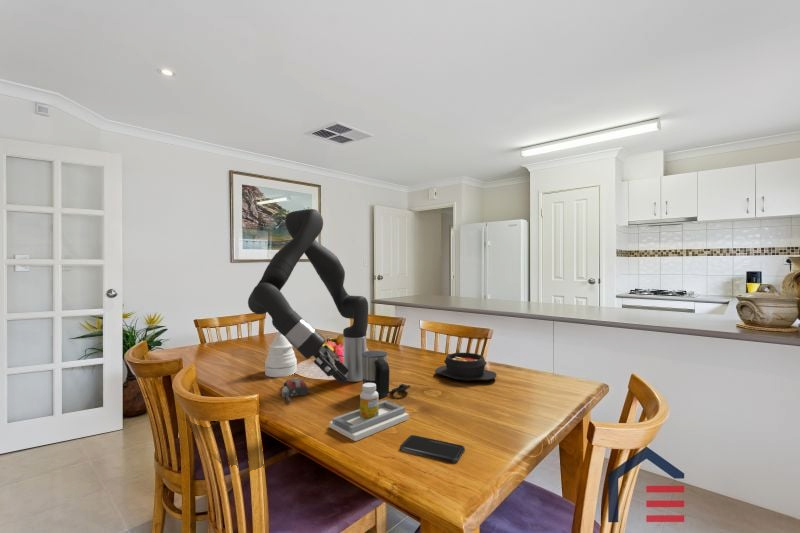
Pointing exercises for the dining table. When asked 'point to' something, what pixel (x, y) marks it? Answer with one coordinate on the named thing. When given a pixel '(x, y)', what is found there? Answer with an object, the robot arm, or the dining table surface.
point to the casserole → (465, 367)
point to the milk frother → (378, 372)
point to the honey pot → (280, 358)
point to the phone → (433, 448)
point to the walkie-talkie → (294, 388)
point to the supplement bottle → (369, 402)
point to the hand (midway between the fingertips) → (345, 377)
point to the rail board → (369, 421)
